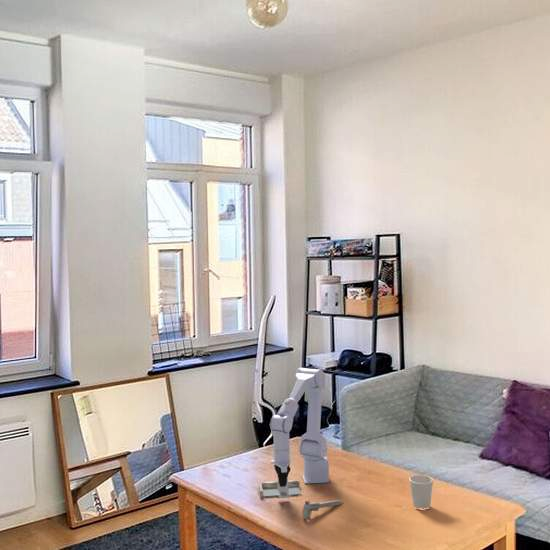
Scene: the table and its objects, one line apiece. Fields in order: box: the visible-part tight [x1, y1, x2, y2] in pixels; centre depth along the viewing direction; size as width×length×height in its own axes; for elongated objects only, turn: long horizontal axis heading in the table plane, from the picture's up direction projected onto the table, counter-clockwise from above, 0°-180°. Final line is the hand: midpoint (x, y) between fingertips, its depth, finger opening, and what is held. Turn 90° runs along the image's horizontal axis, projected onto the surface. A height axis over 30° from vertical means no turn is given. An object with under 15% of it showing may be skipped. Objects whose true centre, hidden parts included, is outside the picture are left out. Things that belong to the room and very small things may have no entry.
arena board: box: [262, 486, 302, 498], centre depth 247 cm, size 14×8×1 cm, turn 95°
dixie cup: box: [408, 474, 435, 509], centre depth 230 cm, size 8×8×10 cm
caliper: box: [302, 499, 344, 520], centre depth 229 cm, size 20×1×6 cm, turn 135°
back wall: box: [259, 479, 301, 488], centre depth 251 cm, size 15×1×2 cm, turn 95°
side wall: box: [258, 482, 263, 499], centre depth 246 cm, size 1×8×2 cm, turn 6°
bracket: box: [276, 478, 291, 499], centre depth 238 cm, size 6×4×4 cm, turn 6°
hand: (282, 485), depth 240 cm, fingers closed on bracket
